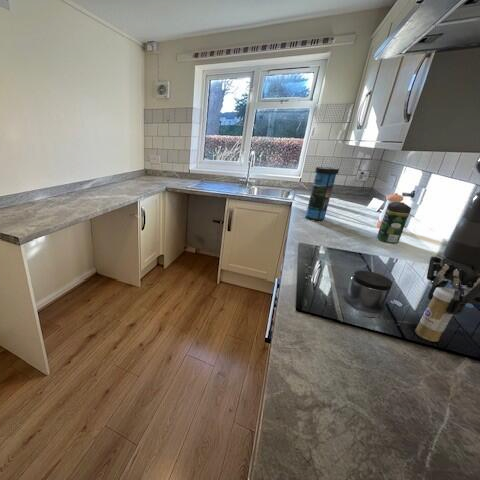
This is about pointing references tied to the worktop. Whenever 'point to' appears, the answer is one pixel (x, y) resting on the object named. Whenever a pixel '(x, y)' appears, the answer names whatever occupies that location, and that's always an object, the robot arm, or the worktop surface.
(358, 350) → the worktop surface
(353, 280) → the squat metal tin
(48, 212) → the worktop surface
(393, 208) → the coffee jar
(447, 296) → the sprinkles bottle
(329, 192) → the advertising column
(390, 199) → the pepper shaker
